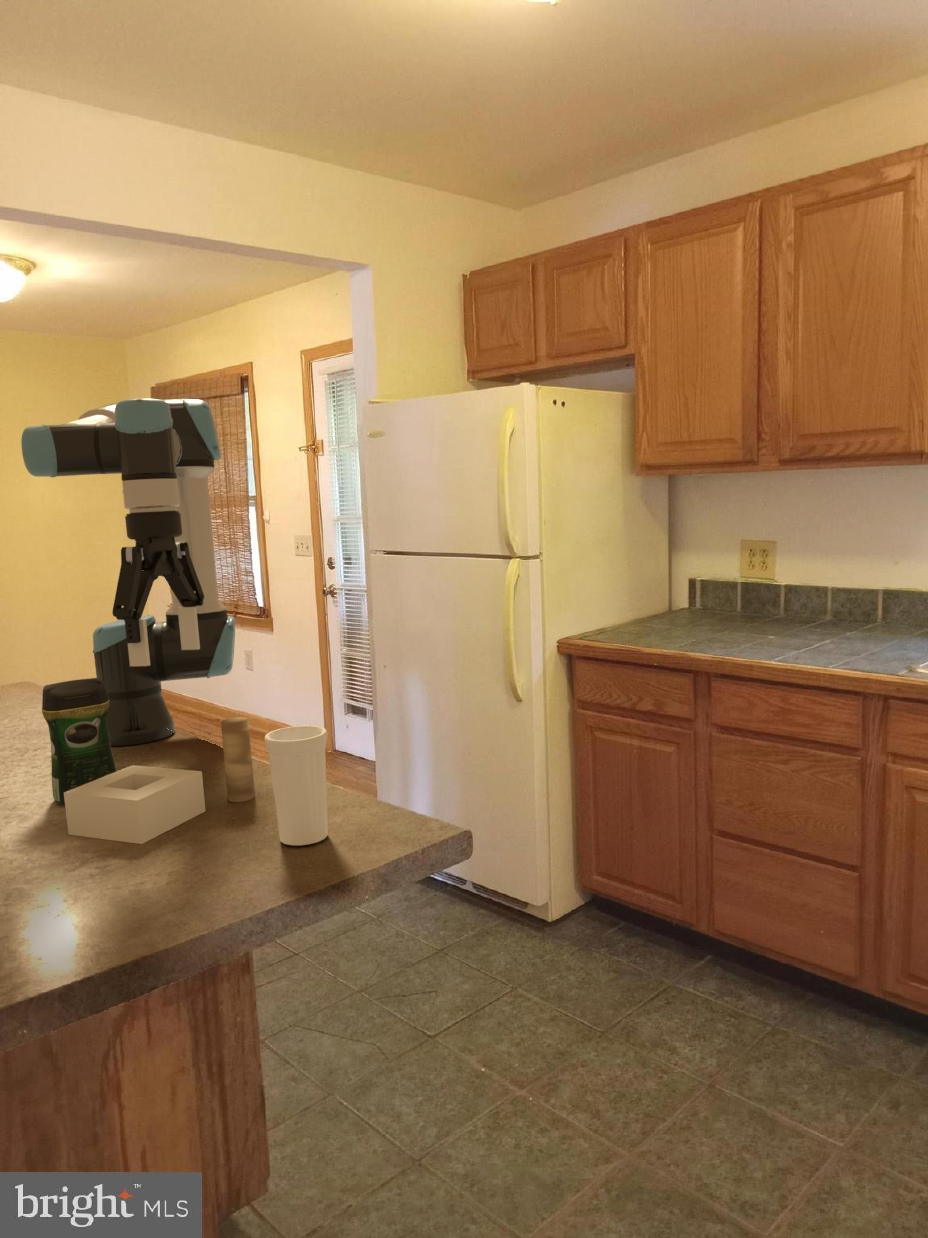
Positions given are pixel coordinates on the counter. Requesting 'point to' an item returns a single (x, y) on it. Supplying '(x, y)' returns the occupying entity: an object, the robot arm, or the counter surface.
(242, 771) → the dowel
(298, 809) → the cup
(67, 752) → the coffee jar
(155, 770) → the socket block
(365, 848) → the counter surface
